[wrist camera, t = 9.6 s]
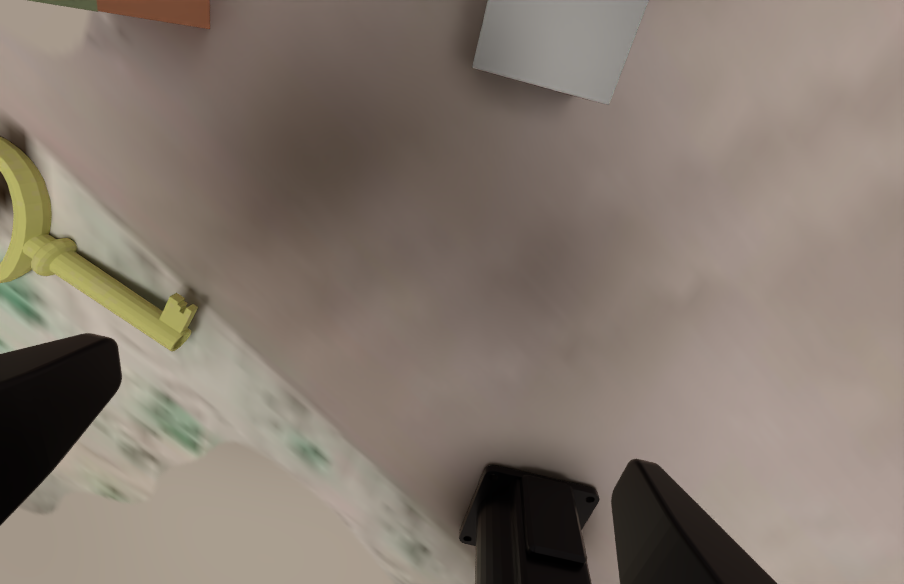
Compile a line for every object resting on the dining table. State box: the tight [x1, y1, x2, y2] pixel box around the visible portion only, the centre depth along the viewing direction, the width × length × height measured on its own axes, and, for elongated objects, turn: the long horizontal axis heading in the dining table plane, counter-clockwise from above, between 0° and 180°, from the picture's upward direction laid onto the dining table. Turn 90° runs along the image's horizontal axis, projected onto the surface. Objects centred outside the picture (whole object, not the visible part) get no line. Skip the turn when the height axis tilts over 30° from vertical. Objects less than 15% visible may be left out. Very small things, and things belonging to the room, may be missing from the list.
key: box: [0, 136, 198, 351], centre depth 19 cm, size 7×12×2 cm, turn 72°
